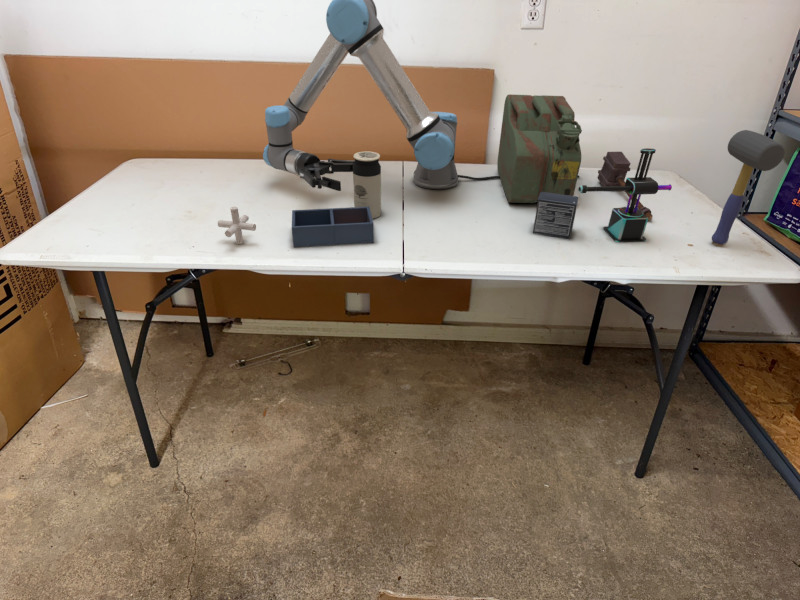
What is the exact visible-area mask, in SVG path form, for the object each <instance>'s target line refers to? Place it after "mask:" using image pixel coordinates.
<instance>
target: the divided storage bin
mask: <svg viewBox="0 0 800 600" xmlns="http://www.w3.org/2000/svg"><path fill="white" fill-rule="evenodd" d="M374 224H375V223H374V220H373V219H372V216H371V212H370V208H369V207H354V206H353V207H351V206H349V207H331V208H311V209H308V208H307V209H292V210H291V236H292V244H293V248H306V247H307V248H309V247H322V246H323V247H324V246H339V245H341V246H342V245H358V244H374V242H375V237H374V235H375V234H374V233H375V232H374V229H375V228H374Z"/></svg>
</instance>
